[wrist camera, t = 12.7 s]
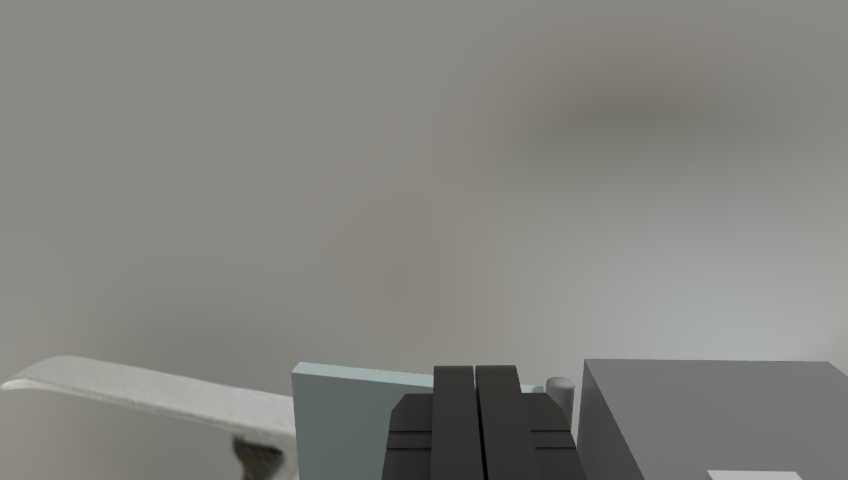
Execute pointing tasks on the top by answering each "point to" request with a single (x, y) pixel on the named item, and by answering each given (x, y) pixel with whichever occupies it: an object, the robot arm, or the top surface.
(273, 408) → the top surface
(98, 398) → the top surface
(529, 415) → the robot arm
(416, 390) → the side door
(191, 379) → the top surface
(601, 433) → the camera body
